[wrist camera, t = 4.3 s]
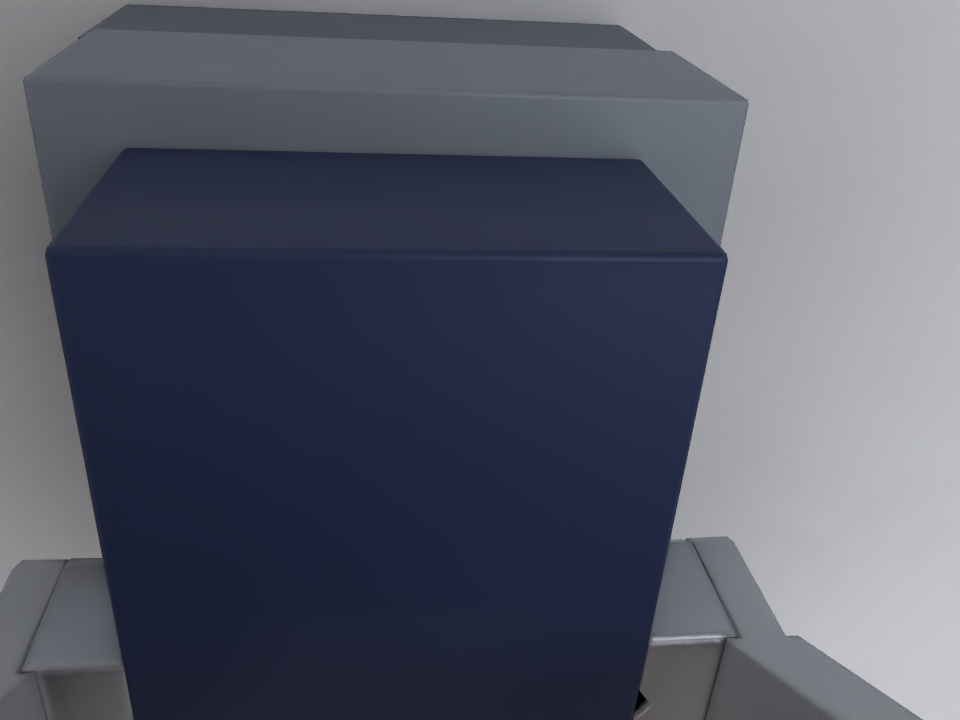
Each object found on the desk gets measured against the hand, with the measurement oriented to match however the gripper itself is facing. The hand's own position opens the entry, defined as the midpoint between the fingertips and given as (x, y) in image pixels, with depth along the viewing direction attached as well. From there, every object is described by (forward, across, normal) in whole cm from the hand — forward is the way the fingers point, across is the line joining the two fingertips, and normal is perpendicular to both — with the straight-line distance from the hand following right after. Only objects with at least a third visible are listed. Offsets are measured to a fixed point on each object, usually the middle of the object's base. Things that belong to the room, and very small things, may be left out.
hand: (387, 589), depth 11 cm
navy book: (+1, 0, 0) cm, 1 cm away
